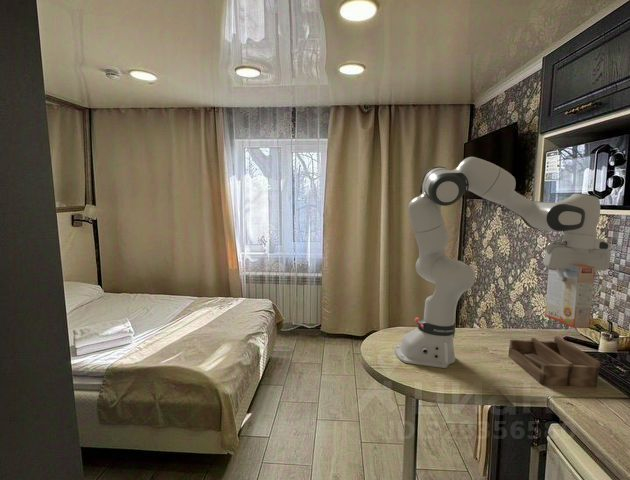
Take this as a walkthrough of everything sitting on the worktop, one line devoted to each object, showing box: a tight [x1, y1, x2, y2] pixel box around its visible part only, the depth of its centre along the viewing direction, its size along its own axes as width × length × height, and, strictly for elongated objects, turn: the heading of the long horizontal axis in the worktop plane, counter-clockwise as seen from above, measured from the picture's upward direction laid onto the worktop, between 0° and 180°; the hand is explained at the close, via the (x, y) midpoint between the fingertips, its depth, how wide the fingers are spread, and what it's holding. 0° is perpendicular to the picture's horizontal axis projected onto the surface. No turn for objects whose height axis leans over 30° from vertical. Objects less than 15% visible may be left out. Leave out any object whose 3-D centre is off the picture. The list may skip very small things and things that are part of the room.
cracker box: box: [544, 265, 596, 329], centre depth 120 cm, size 14×6×21 cm, turn 1°
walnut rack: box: [507, 335, 601, 388], centre depth 122 cm, size 18×20×10 cm
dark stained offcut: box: [523, 354, 552, 369], centre depth 123 cm, size 4×8×2 cm, turn 16°
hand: (572, 281), depth 118 cm, fingers closed on cracker box, 6 cm apart
